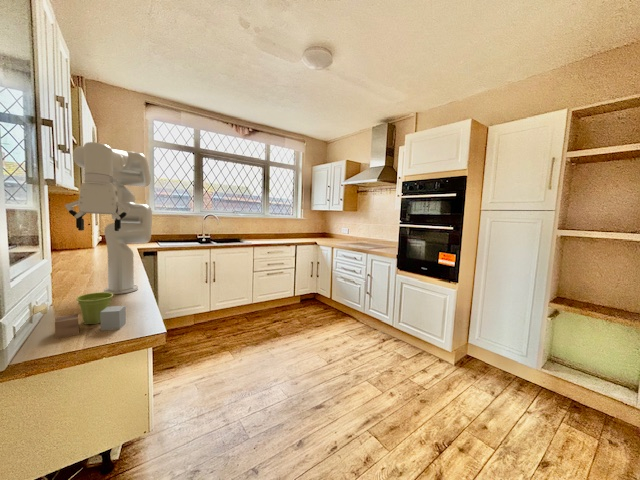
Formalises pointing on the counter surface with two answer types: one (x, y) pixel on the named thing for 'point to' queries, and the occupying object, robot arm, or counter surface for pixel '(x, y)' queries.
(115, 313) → the slate block
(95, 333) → the counter surface
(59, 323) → the walnut block
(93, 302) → the plant pot
